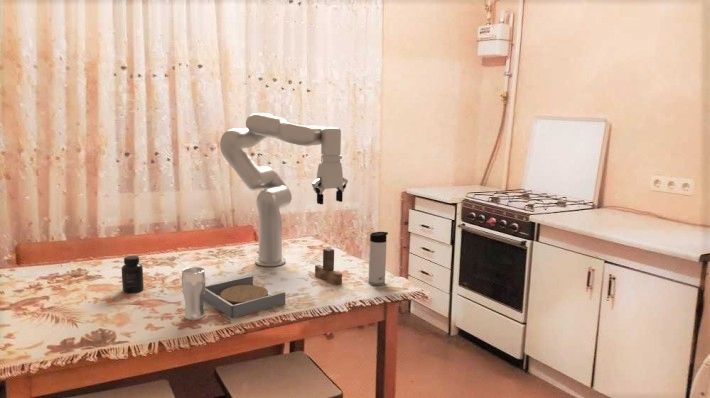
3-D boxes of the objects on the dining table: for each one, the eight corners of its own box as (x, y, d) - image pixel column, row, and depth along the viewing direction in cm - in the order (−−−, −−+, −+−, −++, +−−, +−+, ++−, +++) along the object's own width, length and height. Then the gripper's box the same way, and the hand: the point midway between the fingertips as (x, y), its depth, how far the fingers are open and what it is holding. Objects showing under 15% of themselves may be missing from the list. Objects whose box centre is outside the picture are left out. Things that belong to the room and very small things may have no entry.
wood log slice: (275, 304, 172) (275, 296, 172) (229, 314, 164) (229, 305, 163) (257, 290, 185) (257, 282, 185) (213, 298, 177) (213, 289, 176)
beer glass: (185, 311, 164) (184, 266, 161) (208, 311, 164) (207, 266, 162) (180, 320, 157) (178, 273, 154) (203, 320, 157) (202, 273, 155)
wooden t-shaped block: (313, 275, 202) (314, 246, 200) (319, 274, 204) (320, 244, 202) (336, 285, 192) (337, 254, 190) (342, 283, 194) (343, 253, 192)
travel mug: (384, 286, 192) (386, 234, 188) (367, 285, 193) (368, 233, 189) (386, 281, 198) (388, 230, 194) (369, 279, 199) (371, 229, 195)
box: (201, 298, 175) (200, 286, 175) (251, 285, 188) (251, 275, 188) (232, 318, 160) (232, 306, 159) (285, 303, 173) (285, 292, 172)
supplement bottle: (148, 288, 183) (146, 256, 181) (134, 294, 176) (132, 261, 174) (132, 285, 185) (130, 253, 183) (118, 292, 179) (116, 258, 176)
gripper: (341, 157, 208) (340, 199, 211) (306, 159, 196) (306, 203, 199) (353, 159, 202) (352, 201, 205) (319, 161, 191) (318, 206, 194)
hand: (329, 202), depth 202 cm, fingers open, 9 cm apart
